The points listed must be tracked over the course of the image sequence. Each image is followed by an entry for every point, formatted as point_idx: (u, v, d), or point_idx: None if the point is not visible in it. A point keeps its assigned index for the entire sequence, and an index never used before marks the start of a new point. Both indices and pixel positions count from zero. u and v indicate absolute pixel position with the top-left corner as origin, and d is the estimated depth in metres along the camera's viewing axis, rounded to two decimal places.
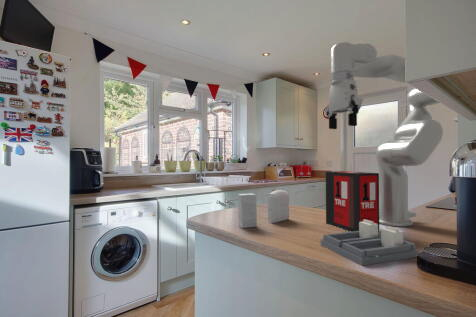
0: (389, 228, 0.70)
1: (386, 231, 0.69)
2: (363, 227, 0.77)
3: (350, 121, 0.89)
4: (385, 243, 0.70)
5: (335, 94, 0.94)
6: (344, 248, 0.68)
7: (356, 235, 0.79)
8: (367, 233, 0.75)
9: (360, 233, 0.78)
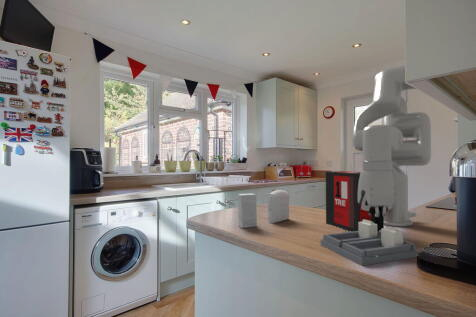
0: (389, 228, 0.70)
1: (386, 231, 0.69)
2: (362, 227, 0.77)
3: None
4: (385, 243, 0.70)
5: (382, 187, 0.75)
6: (344, 248, 0.68)
7: (356, 235, 0.79)
8: (366, 233, 0.75)
9: (359, 233, 0.78)
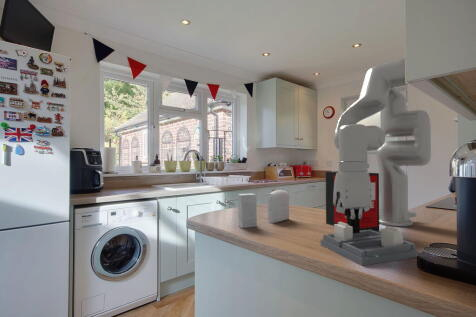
0: (389, 228, 0.70)
1: (386, 231, 0.69)
2: (337, 230, 0.74)
3: None
4: (385, 243, 0.70)
5: (358, 188, 0.73)
6: (344, 248, 0.68)
7: (356, 235, 0.79)
8: (341, 236, 0.73)
9: (335, 236, 0.75)
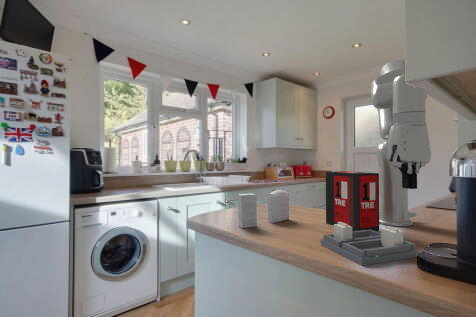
0: (389, 228, 0.70)
1: (386, 231, 0.69)
2: (337, 230, 0.74)
3: None
4: (385, 243, 0.70)
5: (416, 140, 0.69)
6: (344, 248, 0.68)
7: (356, 235, 0.79)
8: (341, 236, 0.73)
9: (334, 236, 0.75)
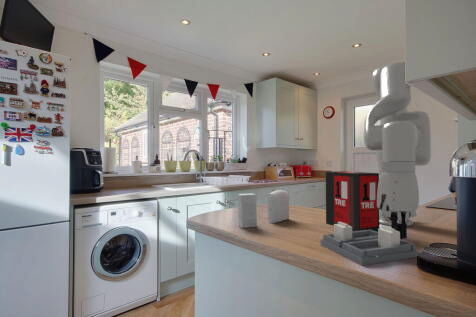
0: (386, 228, 0.69)
1: (383, 231, 0.69)
2: (337, 230, 0.74)
3: None
4: (382, 243, 0.69)
5: (406, 190, 0.68)
6: (344, 248, 0.68)
7: (356, 235, 0.79)
8: (341, 236, 0.73)
9: (334, 236, 0.75)
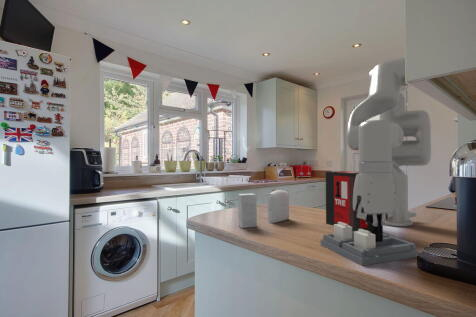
0: (362, 231, 0.67)
1: (358, 234, 0.66)
2: (337, 230, 0.74)
3: None
4: (357, 247, 0.67)
5: (381, 191, 0.65)
6: (344, 248, 0.68)
7: None
8: (341, 236, 0.73)
9: (334, 236, 0.75)
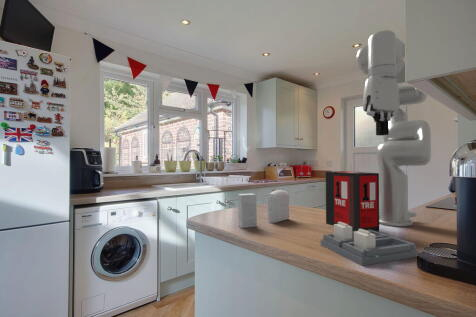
0: (361, 231, 0.67)
1: (358, 234, 0.66)
2: (337, 230, 0.74)
3: None
4: (357, 247, 0.67)
5: (387, 90, 0.78)
6: (344, 248, 0.68)
7: None
8: (341, 236, 0.73)
9: (334, 236, 0.75)
